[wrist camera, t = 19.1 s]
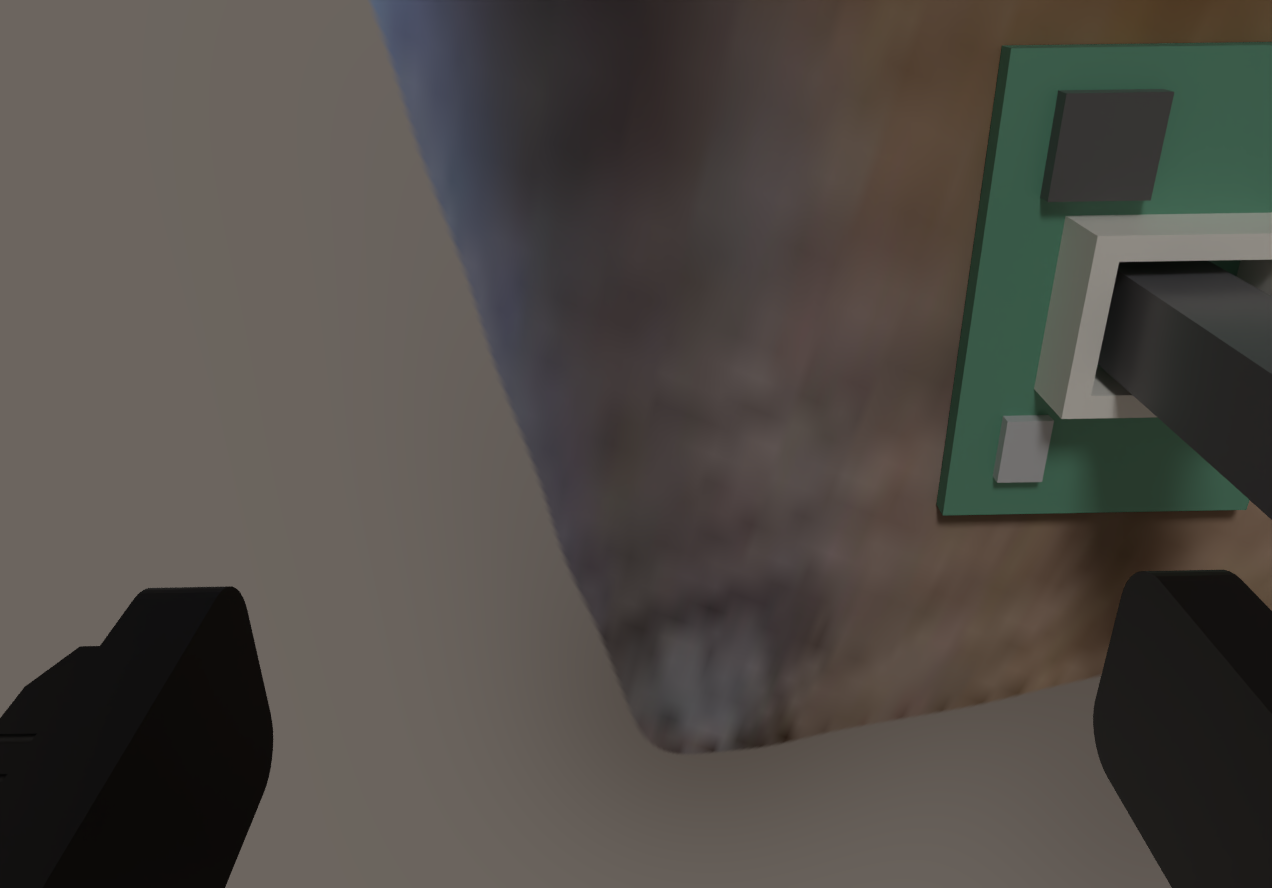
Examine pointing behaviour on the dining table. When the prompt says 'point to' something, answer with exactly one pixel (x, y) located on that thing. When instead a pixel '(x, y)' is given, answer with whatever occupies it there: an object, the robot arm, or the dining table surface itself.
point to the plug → (1198, 362)
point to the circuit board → (1098, 266)
